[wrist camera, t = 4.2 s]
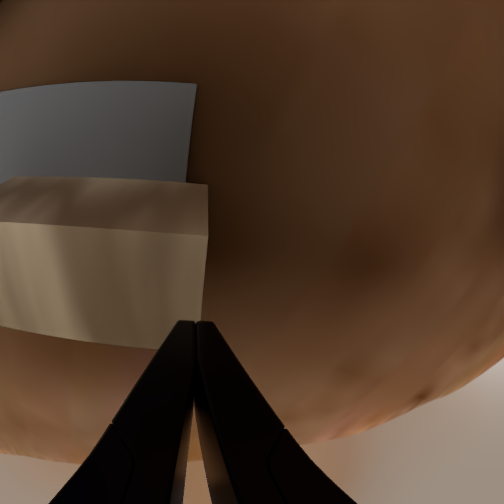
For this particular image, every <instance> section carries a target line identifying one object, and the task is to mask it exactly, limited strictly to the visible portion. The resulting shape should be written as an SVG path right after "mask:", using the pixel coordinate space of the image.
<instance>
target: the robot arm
mask: <svg viewBox="0 0 504 504" xmlns="http://www.w3.org/2000/svg"><path fill="white" fill-rule="evenodd" d="M193 407H195V416H196V422H197V428H198V434H199V440H200V446H201V451H202V457H203V462H204V468H205V473H206V478H207V483H208V488H209V493H210V497H211V502H212V504H357V503H356V502H355V501H354V500H353V499H351V498H350V497H349V496H348V495H347V494H346V493H345V492H344V491H343V490H341V489H340V488H339V487H338V486H337V485H336V484H335V483H334V482H333V481H332V480H331V479H330V478H329V477H328V476H326V474H325V473H324V472H323V471H322V470H321V469H320V468H319V467H318V466H317V465H316V464H315V463H314V462H313V461H312V460H311V459H310V458H309V456H308V455H307V454H306V453H305V452H304V450H303V449H302V448H301V447H300V445H299V444H298V443H297V442H296V440H295V439H294V438H293V436H292V435H291V434H290V432H289V431H288V430H287V429H284V428H285V426H284V425H283V423H282V422H281V420H280V419H279V418H278V416H277V415H276V414H275V412H274V411H273V409H272V408H271V407H270V405H269V404H268V402H267V401H266V400H265V398H264V397H263V395H262V394H261V393H260V391H259V390H258V388H257V387H256V385H255V384H254V383H253V381H252V380H251V378H250V377H249V375H248V374H247V372H246V371H245V369H244V368H243V366H242V365H241V363H240V362H239V360H238V359H237V358H236V356H235V355H234V353H233V351H232V350H231V348H230V347H229V345H228V344H227V342H226V341H225V339H224V338H223V336H222V335H221V333H220V332H219V330H218V328H217V327H216V325H215V324H214V323H213V322H211V321H197V322H196V324H195V321H193V320H178V321H177V322H176V324H175V325H174V327H173V328H172V330H171V331H170V333H169V334H168V336H167V337H166V339H165V340H164V342H163V343H162V345H161V346H160V348H159V349H158V351H157V352H156V354H155V355H154V357H153V358H152V360H151V361H150V363H149V364H148V366H147V367H146V369H145V370H144V372H143V374H142V375H141V377H140V378H139V380H138V381H137V383H136V384H135V386H134V387H133V389H132V390H131V392H130V393H129V395H128V397H127V398H126V400H125V401H124V403H123V404H122V406H121V407H120V409H119V411H118V412H117V414H116V415H115V417H114V418H113V420H112V424H109V426H108V427H107V429H106V431H105V432H104V434H103V435H102V437H101V438H100V440H99V441H98V443H97V444H96V446H95V447H94V449H93V450H92V452H91V453H90V454H89V456H88V457H87V458H86V460H85V461H84V462H83V463H82V465H81V466H80V467H79V469H78V470H77V471H76V472H75V473H74V475H73V476H72V477H71V478H70V479H69V480H68V482H67V483H66V484H65V485H64V486H63V488H62V489H61V490H60V491H59V492H58V493H57V495H56V496H55V497H54V498H53V499H52V500H51V501H50V503H49V504H183V496H184V487H185V477H186V468H187V459H188V450H189V441H190V433H191V425H192V417H193Z"/></svg>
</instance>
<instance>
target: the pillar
mask: <svg viewBox="0 0 504 504" xmlns="http://www.w3.org/2000/svg"><path fill="white" fill-rule="evenodd" d="M207 245H208V185H206V184H195V183H183V182H170V181H155V180H139V179H120V178H96V177H52V176H20V177H11V178H10V179H8V180H7V181H5V182H4V183H2V184H1V185H0V326H4V327H8V328H13V329H18V330H23V331H28V332H33V333H38V334H43V335H49V336H55V337H61V338H67V339H73V340H80V341H87V342H94V343H102V344H110V345H118V346H127V347H137V348H148V349H159V348H160V346H161V345H162V343H163V342H164V340H165V339H166V337H167V336H168V334H169V333H170V331H171V330H172V328H173V327H174V325H175V324H176V322H177V321H178V320H193V321H195V324H196V322H197V321H201V308H202V297H203V285H204V275H205V264H206V254H207Z"/></svg>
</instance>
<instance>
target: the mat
mask: <svg viewBox="0 0 504 504" xmlns="http://www.w3.org/2000/svg"><path fill="white" fill-rule="evenodd" d="M196 90H197V84H193V83H179V82H159V81H97V82H78V83H64V84H53V85H44V86H36V87H28V88H21V89H15V90H9V91H3V92H0V185H1V184H2V183H4V182H5V181H7V180H8V179H10V178H11V177H20V176H52V177H96V178H120V179H139V180H155V181H170V182H183V183H186V175H187V164H188V155H189V145H190V136H191V128H192V120H193V112H194V104H195V97H196Z"/></svg>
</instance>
